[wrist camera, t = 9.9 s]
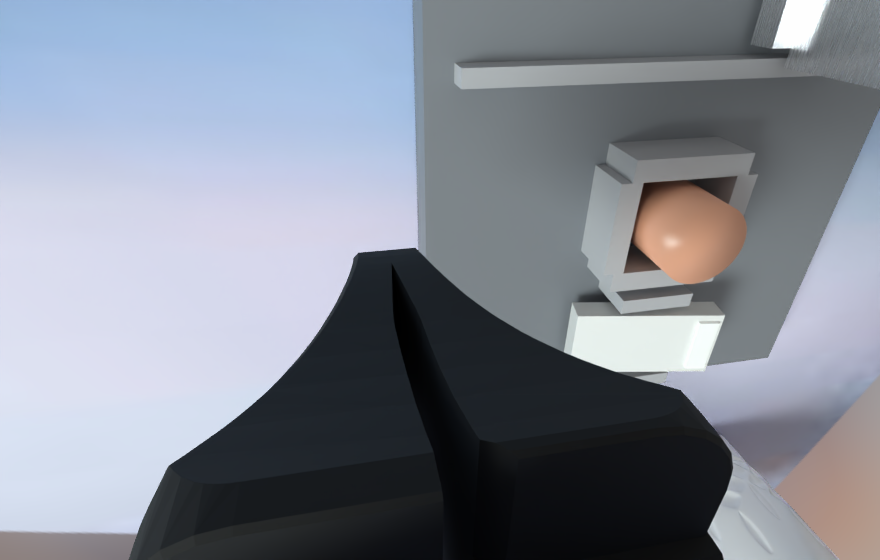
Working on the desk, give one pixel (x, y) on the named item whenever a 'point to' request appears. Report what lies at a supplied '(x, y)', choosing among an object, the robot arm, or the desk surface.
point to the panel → (620, 156)
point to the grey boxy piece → (825, 37)
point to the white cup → (761, 521)
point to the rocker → (644, 336)
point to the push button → (687, 230)
